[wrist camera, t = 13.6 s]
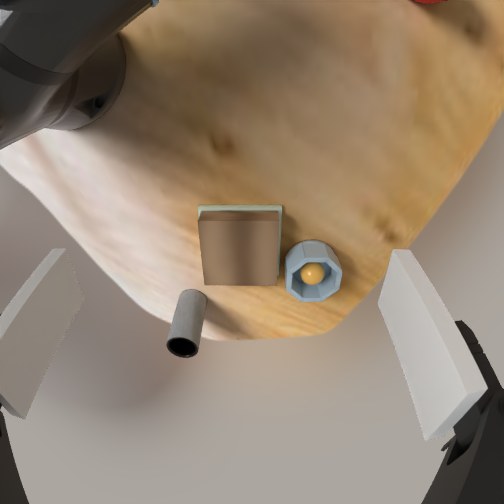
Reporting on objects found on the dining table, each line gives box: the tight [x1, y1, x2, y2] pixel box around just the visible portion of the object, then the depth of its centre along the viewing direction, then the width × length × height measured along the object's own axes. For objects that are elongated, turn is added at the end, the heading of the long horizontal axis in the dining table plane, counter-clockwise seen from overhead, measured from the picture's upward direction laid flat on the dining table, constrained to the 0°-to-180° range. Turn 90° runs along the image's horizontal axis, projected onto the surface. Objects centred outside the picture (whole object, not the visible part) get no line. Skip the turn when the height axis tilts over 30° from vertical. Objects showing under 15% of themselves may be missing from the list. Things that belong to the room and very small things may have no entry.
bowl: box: [284, 240, 342, 302], centre depth 44 cm, size 8×8×4 cm
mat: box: [198, 205, 282, 275], centre depth 44 cm, size 11×11×1 cm
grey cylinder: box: [167, 289, 207, 358], centre depth 46 cm, size 4×4×10 cm
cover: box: [198, 210, 279, 286], centre depth 43 cm, size 10×10×3 cm
